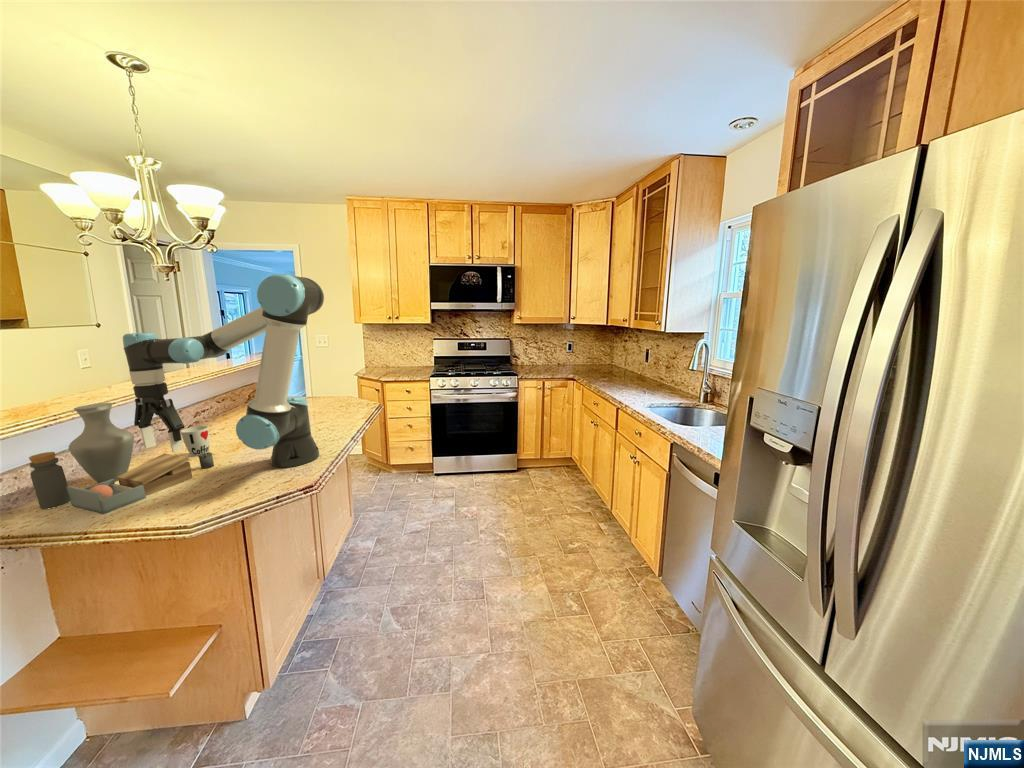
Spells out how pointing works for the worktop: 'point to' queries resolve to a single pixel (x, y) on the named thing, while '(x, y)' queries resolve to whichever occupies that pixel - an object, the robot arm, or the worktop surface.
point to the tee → (206, 460)
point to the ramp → (158, 473)
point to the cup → (196, 439)
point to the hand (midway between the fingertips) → (164, 448)
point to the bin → (97, 504)
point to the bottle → (49, 480)
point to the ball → (103, 490)
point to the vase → (102, 444)
